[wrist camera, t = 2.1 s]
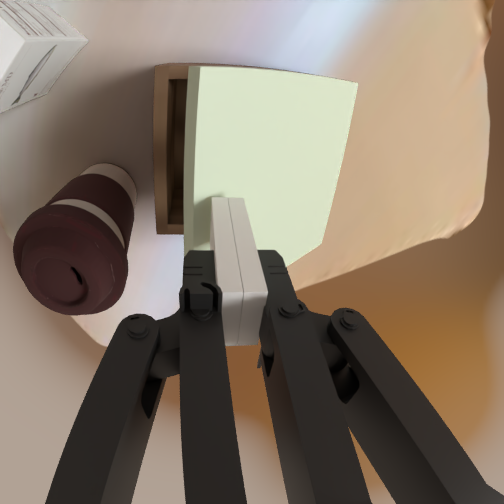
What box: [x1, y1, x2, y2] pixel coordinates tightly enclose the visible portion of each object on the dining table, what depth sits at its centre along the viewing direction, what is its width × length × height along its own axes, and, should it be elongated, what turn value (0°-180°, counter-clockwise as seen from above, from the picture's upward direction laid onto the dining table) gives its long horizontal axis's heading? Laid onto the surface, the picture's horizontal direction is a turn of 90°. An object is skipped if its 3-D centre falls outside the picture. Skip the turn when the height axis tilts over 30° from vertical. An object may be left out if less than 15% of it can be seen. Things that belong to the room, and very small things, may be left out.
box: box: [153, 63, 300, 235], centre depth 26 cm, size 14×14×8 cm
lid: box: [184, 66, 358, 267], centre depth 19 cm, size 15×14×1 cm
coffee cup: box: [13, 163, 137, 315], centre depth 25 cm, size 10×10×15 cm
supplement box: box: [0, 0, 89, 113], centre depth 15 cm, size 7×7×13 cm
